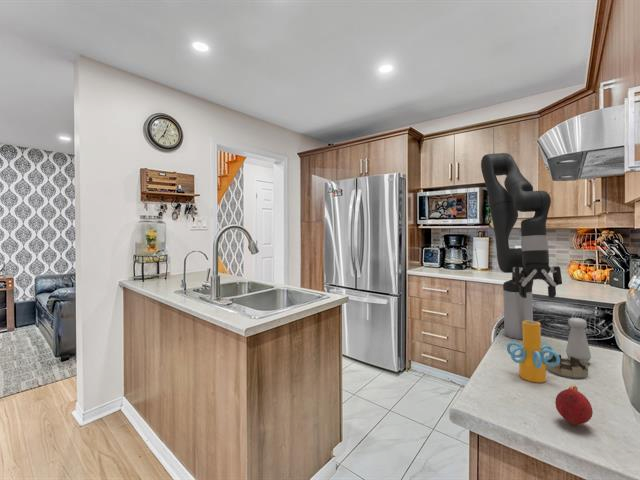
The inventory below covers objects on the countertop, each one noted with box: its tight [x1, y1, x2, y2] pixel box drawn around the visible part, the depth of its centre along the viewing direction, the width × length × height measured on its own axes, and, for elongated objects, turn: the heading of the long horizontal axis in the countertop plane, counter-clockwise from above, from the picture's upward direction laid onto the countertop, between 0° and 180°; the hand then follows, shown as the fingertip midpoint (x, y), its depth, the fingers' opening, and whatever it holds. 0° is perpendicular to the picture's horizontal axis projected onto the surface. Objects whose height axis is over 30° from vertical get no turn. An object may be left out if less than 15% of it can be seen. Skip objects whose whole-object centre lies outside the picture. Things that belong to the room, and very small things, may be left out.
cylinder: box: [506, 320, 560, 384], centre depth 83 cm, size 12×10×15 cm
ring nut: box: [544, 354, 589, 380], centre depth 86 cm, size 9×9×3 cm
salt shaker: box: [565, 317, 592, 365], centre depth 92 cm, size 6×6×13 cm
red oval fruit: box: [554, 384, 593, 427], centre depth 62 cm, size 6×6×8 cm
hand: (537, 297), depth 103 cm, fingers open, 8 cm apart
